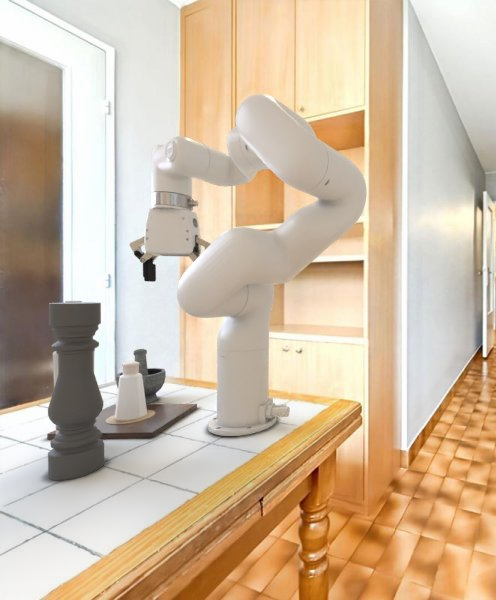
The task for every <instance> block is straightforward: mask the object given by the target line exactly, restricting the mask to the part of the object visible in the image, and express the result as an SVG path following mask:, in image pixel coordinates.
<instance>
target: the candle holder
mask: <svg viewBox="0 0 496 600" xmlns="http://www.w3.org/2000/svg"><path fill="white" fill-rule="evenodd" d="M101 324H102V304H101V302H93V301H90V302H87V301H85V302H84V301H82V302H68V303H65V302H49V303H48V326H49V327H51V332H52V333H53V334H54V335H55V337H56V338H57V341H56V342H54V343H53V344H51V350H52V351H53V352H55V351H56V353H57V354H58V377H57V380H56V384H55V387H54V386H53V391H52V394H51V398H50V401H49V404H48V408H47V416H48V418H49V420H50V421H51V423H52V424H53V425H55V430H58V431H59V432H58V433H57V434H56V435H55V437H54V439H50V444H49V445H50V448H52V449H51V450H49V451H48V452H47V473H48V474H47V475H48V477H47V478H48V479H49V480H51V481H66V480H67V481H68V480H73V479H77V478H81V477H85V476H86V475H90V474H91V473H94V472H96V471H97V470H99V469H101V468H102V467H103V466H104V464H105V441H104V439H102V438H100V437H101V436H102V433H101V431H100V430H99V429H98V428H97V427H96V426H94V424H95V423H96V419H95V418H96V417H97V416H98V415H99V414H100V413H101V411H102V410H103V409H104V399H103V396H102V393H101V390H100V387H99V384H98V381H97V377H96V375H95V370H94V371H93V351H94V352H95V351H96V349H97V348H98V347H99V346H100V342H99V341H98V340H96V339H94V336H95V335H96V332H97V331H98V330H99V325H101ZM56 425H57V426H56Z"/></svg>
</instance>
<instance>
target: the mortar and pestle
mask: <svg viewBox="0 0 496 600" xmlns="http://www.w3.org/2000/svg"><path fill="white" fill-rule="evenodd" d="M147 354H148V350H147V349H145V348H137V349H134V351H133V356H134V362H139V372H138V373H141V374H142V378H143V385H144V393H145V400H146V404H151V403H153V402H155V401H157V400H158V396H157V393H158V392H159V391H160V390H161V389H162V388H163V386H164V384H165V381H166V377H167V375H166V370H165V368H158V367H148V361H147V360H148V359H147ZM121 375H123V371H122V372H119V373H116V375H115V380H116V381H115V384H116V388H117V389H118V385H119V378H120V376H121Z"/></svg>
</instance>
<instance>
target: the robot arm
mask: <svg viewBox="0 0 496 600" xmlns="http://www.w3.org/2000/svg"><path fill="white" fill-rule="evenodd" d="M226 147H227V152H228V153H226V152H223V151H222V150H218V149H217V148H214V147H211V146H209V145H207V144H205V143H202V142H200V141H197V140H194V139H193V138H190V137H187V136H184V135H176V136H173V137H172V138H171V139H169V140H168V141H167V142H165V143H164V144H157V145H155V146H154V147H153V148H152V149H151V156H150V157H151V208H149V209H148V210H147V211H148V212H147V216H146V219H145V228H144V236H142V237H140V238H137V239H136V240H133V241H131V242H130V243H129V247H130V249H131V250H132V253H133V255H134V256H135V257H136V258H137V259H138V260H139V262H140V263H141V264H142V277H143V281H144V282H152V283H153V282H156V281H157V265H156V263H154V262H155V261H156V260H157V259H158V257H159V256H160V257H161V256H162V257H188V258H189V259H190V260H191V261H192V263H191V264H189V266H188V267H187V268H186V269H185V271H184V272H183V274H182V275H181V277H180V279H179V281H178V284H177V289H176V298H177V299H176V300H177V302H178V305H179V306H180V308H181V309H182V311H184V312H185V313H187V314H188V315H190V316H192V317H195V318H202V319H212V318H224V320H223V321H222V323H221V326H220V328H219V331H218V334H217V339H216V415H215V416H214V417H212V418H211V419H210V420H209V421H208V422H207V430H208V431H209V433H211V434H213V435H216V436H221V437H239V436H246V435H252V434H256V433H259V432H261V431H265V430H267V429H269V428H270V427H272V426H274V424H276V422H277V417H279V418H288V417H289V416H290V408H291V407H290V406H287V404H286V403H280V404H276V403H275V402H274V397H271V396H269V395H270V394H269V391H270V390H269V387H270V385H269V384H270V381H269V380H270V373H269V372H270V369H269V368H270V325H271V324H270V323H271V316H272V310H273V305H274V301H275V286H274V285H284V284H285V283H289V282H290V281H291V280H293V279H294V278H296V276H298V275H299V274H300V273H301V272H302V271H303V270H305V268H307V267H308V266H309V265H310V264H312V262H314V261H316V259H317V258H319V257H320V255H322V254H323V253H324V252H325V251H326V250H327V249H328V248H329V247H330V246H332V245H333V244H334V243H336V242H337V241H338V240H340V239H341V238H342V237H343V236H344V235H345V234H347V233H348V232H349V231H350V230H351V229H352V228H353V227H354V226H355V225H356V224H357V222H358V221H359V219H360V218H361V216H362V214H363V213H364V209H365V206H366V202H367V193H368V191H367V190H368V189H367V184H366V179H365V177H364V175H363V173H362V171H361V170H360V168H359V167H358V166H357V165H356V164H355V163H354V162H353V161H352V160H351V159H349V158H348V157H347V156H346V155H344V154H342V153H341V152H339V151H338V150H336V149H335V148H333V147H331V146H330V145H329V144H327V143H325V142H324V141H323V140H321V139H320V138H318V137H317V135H316V132H315V130H314V128H313V127H312V126H311V124H310V123H309V122H308V121H307V120H306V119H305V118H303V117H302V116H301V115H300V114H298V113H297V112H295V111H294V110H292V109H291V108H290V107H289V106H286V105H285V104H284V103H283V102H281V101H279V100H278V99H276V98H275V97H274V96H271V95H269V94H265V93H256V94H252V95H250V96H248V97H246V98H245V99H244V100H243V101H241V103H240V104H239V106H238V108H237V111H236V112H235V126H234V127H232V128H231V129H230V130H229V131H228V134H227V137H226ZM267 170H270V171H271V172H272V173H273V174H274V175H275V176H276V177H277V178H278V179H280V180H281V181H282V182H283V183H285V184H286V185H287V186H289V187H291V188H293V189H295V190H298V191H300V192H302V193H304V194H308V195H309V196H312V197H314V198H317V199H316V200H315V201H313V202H312V203H310V204H308V205H305V206H302V207H300V208H299V209H297V210H295V211H294V212H292V214H290V215H289V216H288V217H287V218H286V219H285V220H284V221H283V222H282V223H281V224H280V225H279V226H277V227H276V228H274V229H272V230H262V229H258V228H252V227H246V226H245V227H244V226H239V227H233V228H230V229H228V230H226V231H223V232H222V233H221V234H219V235H218V236H217V237H216V238H215V239H214V240H213V241H212V242H211V243H210V242H209V241H207V240H204V239H202V238H201V230H200V224H199V223H200V222H199V219H198V215H197V212H195V211H194V208H195V207H199V201H198V200H196V199H193V179H194V180H195V179H196V180H199V181H202V182H205V183H208V184H211V185H213V186H218V187H225V188H226V187H236V186H242V185H246V184H248V183H250V182H251V181H252V180H253V179H254V178H255V177H256V176H257V174H258V172H262V171H267ZM142 247H144V250H145V252H144V251H143V250H142ZM202 247H204V250H203V251H202Z"/></svg>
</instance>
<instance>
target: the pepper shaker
mask: <svg viewBox="0 0 496 600" xmlns="http://www.w3.org/2000/svg"><path fill="white" fill-rule="evenodd" d="M121 367H122V372H123V375H121V376H120V378H119V385H118V388H117V393H116V394H117V395H116V402H115V403H116V404H115V405H116V410H115V419H116V420H117V421H128V420H133V419H138V418H141V417H143V416H145V415H147V408H146V404H147V403H146V400H145V393H144V385H143V378H142V374H141V373H138V372H139V362H135V361H127V362H123V363H122V364H121Z"/></svg>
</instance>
